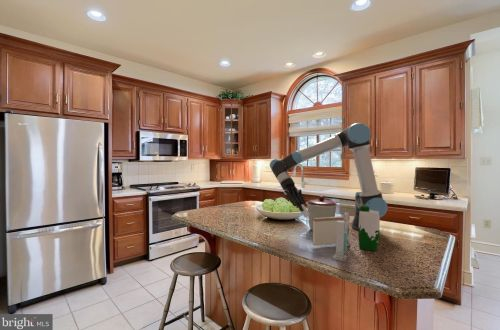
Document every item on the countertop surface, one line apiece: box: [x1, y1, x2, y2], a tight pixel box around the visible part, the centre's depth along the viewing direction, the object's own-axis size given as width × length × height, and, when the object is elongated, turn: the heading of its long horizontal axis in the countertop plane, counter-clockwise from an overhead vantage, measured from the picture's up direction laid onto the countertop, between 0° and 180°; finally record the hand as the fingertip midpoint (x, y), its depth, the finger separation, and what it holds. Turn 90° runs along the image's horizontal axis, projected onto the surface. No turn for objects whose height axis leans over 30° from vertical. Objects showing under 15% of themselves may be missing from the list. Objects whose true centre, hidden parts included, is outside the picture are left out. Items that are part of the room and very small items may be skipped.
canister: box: [305, 195, 338, 232], centre depth 151 cm, size 18×18×21 cm
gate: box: [312, 216, 344, 247], centre depth 123 cm, size 16×2×13 cm, turn 107°
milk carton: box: [358, 206, 381, 252], centre depth 122 cm, size 9×9×20 cm
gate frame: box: [332, 212, 351, 263], centre depth 117 cm, size 25×5×16 cm, turn 152°
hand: (307, 215), depth 133 cm, fingers closed
